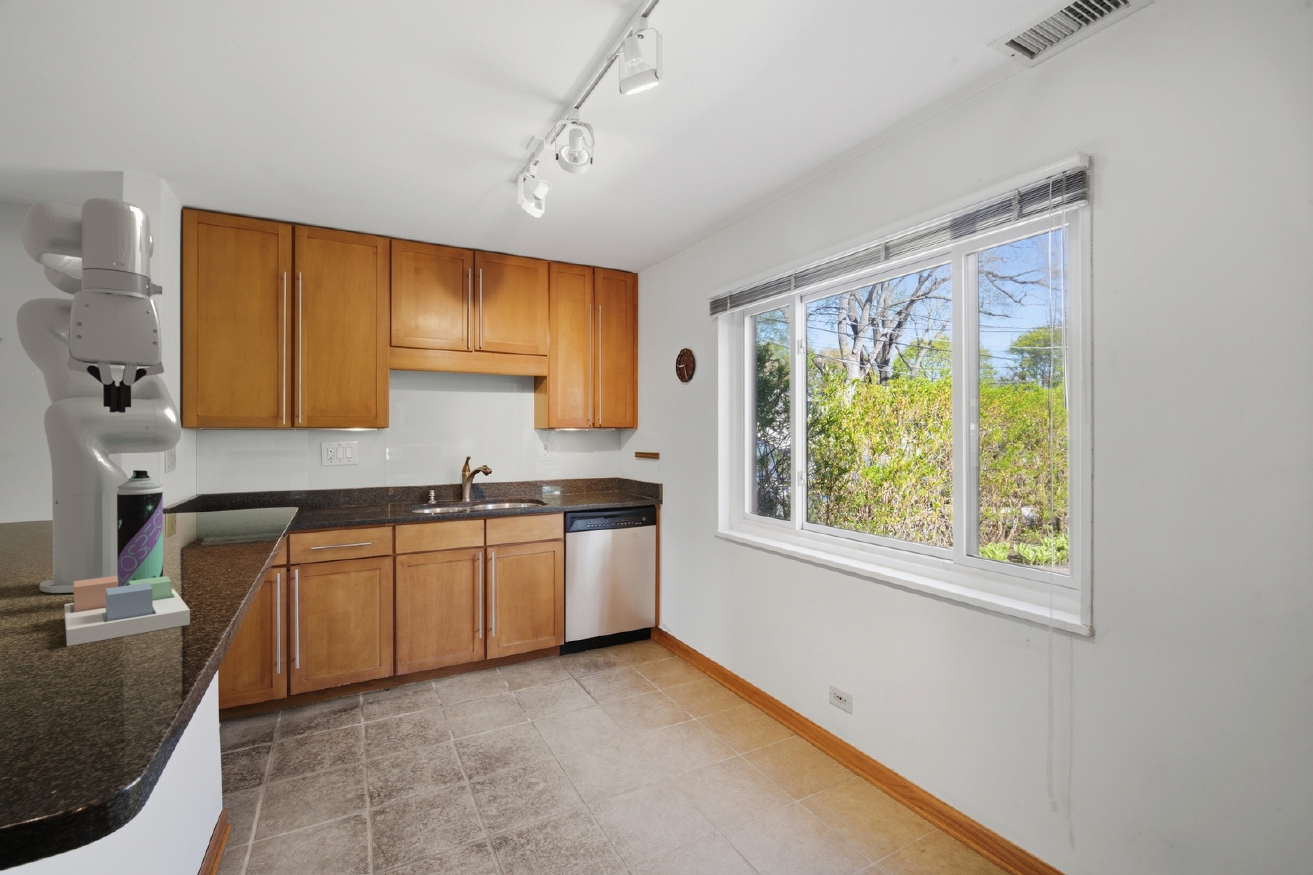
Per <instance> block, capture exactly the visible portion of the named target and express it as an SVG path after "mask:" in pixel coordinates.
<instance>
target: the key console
mask: <svg viewBox="0 0 1313 875" xmlns="http://www.w3.org/2000/svg"><path fill="white" fill-rule="evenodd" d="M152 602H153V614H151V615H145V616H139V617H133V618H127V619H121V620H115V621H107V617H106V608H101V609H95V610H88V611H81V612H74V602H71V603H65V604H64V625H65V626H64V629H65V638H66V640H65V641H66V647H71V646H77V645H81V644H88V643H92V642H93V643H94V642H99V641H104V640H105V641H106V640H110V639H115V638H117V639H118V638H121V637H128V636H132V635H139V634H143V633H145V634H146V633H149V632H156V631H160V630H166V629H167V630H168V629H172V628H178V627H183V626H189V625H190V624H191V609H190V608H189V606H188V605H187V604H186V602H185V601H184V600H183V599H182V597H181V596H180V595H179V594H178V592H177V590H175V588H172V598H167V599H161V600H154V601H152Z"/></svg>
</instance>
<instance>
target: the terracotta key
mask: <svg viewBox="0 0 1313 875" xmlns="http://www.w3.org/2000/svg"><path fill="white" fill-rule="evenodd" d="M113 587H118V580H117V577H116V576H112V577H104V578H96V579H88V580H80V581H74V592H73V603H74V612H81V611H88V610H95V609H101V608H106V588H113Z"/></svg>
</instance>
